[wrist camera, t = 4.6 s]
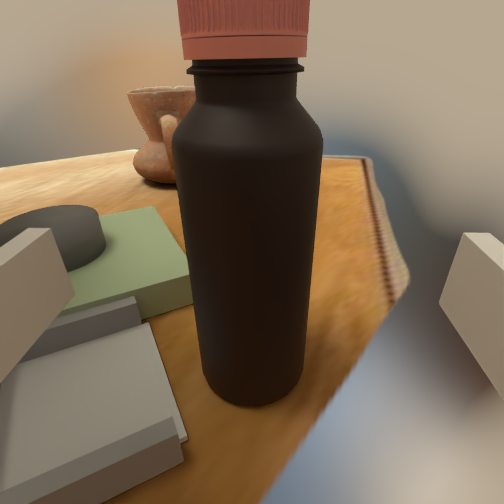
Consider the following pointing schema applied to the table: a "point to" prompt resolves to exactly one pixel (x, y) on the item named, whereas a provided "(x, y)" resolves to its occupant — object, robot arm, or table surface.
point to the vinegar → (248, 192)
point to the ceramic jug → (159, 127)
